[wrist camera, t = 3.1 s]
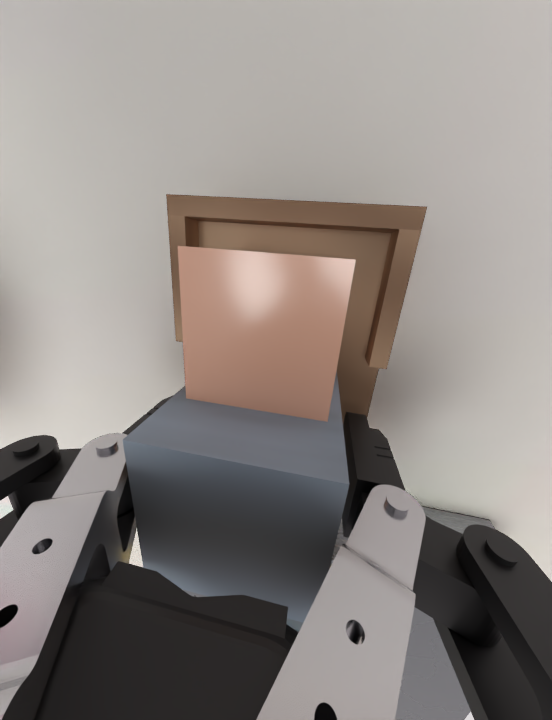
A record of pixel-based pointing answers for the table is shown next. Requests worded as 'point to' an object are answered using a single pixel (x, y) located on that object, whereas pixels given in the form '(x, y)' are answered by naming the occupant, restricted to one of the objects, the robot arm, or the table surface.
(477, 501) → the table surface
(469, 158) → the table surface
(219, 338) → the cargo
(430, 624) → the dock
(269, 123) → the table surface
